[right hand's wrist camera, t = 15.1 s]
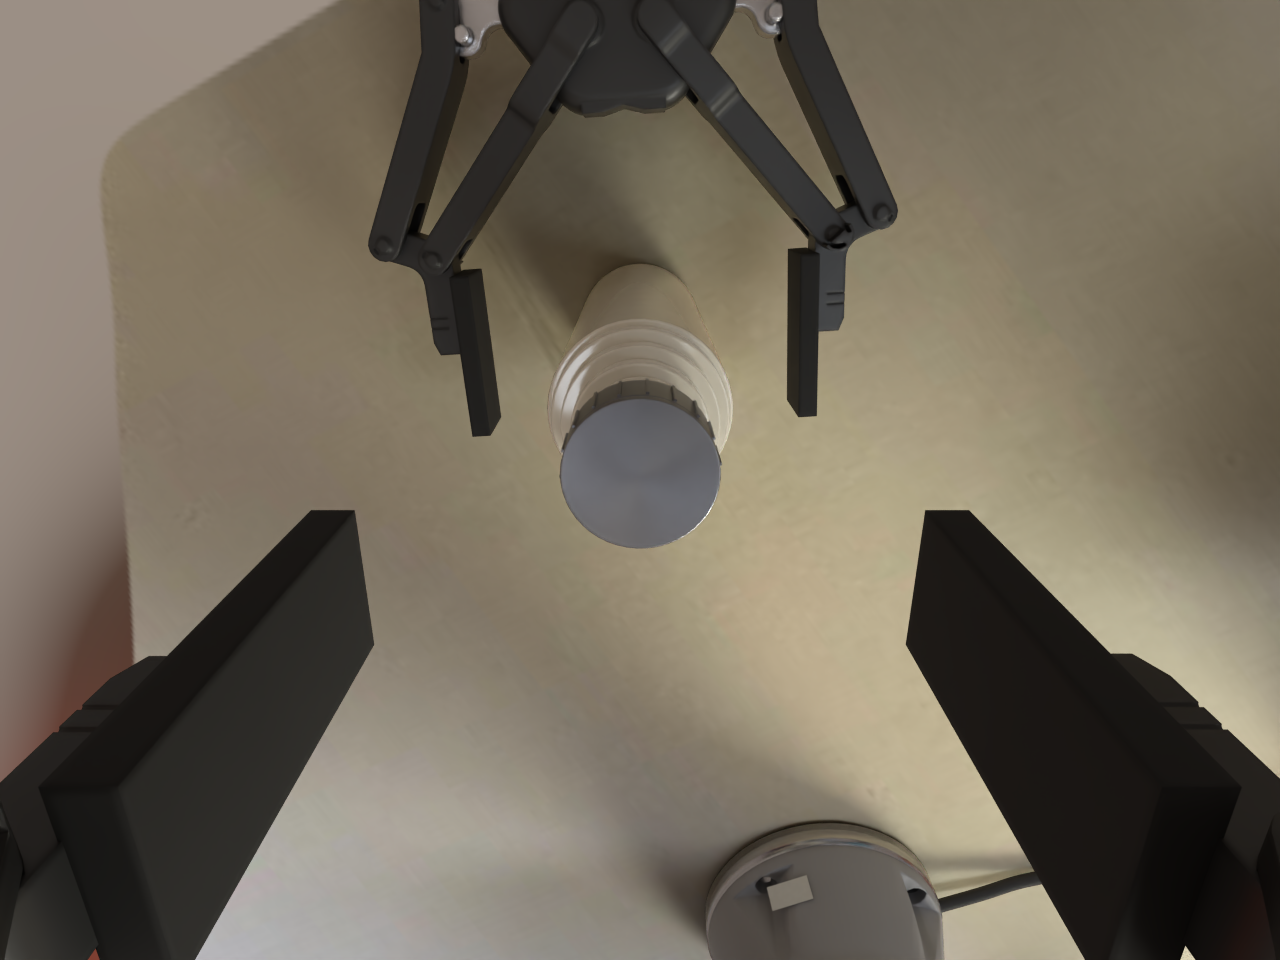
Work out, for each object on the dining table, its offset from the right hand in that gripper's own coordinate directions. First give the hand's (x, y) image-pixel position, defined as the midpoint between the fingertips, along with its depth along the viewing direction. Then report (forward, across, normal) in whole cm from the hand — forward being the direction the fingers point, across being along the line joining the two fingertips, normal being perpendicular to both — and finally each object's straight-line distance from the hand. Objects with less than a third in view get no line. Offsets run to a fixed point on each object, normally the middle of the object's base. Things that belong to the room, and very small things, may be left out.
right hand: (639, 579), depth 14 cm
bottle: (+26, 0, 0) cm, 26 cm away
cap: (+5, 0, 0) cm, 5 cm away
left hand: (+20, 0, -3) cm, 20 cm away
